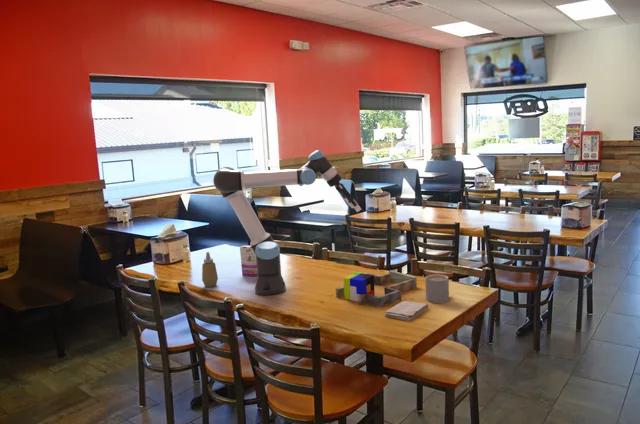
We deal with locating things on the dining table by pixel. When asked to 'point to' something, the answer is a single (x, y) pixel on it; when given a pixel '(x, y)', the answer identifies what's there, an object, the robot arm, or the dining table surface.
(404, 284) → the trap lane
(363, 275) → the puzzle toy
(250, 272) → the candy bar box
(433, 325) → the dining table surface
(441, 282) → the coffee mug
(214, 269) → the squeeze bottle
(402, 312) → the washcloth
